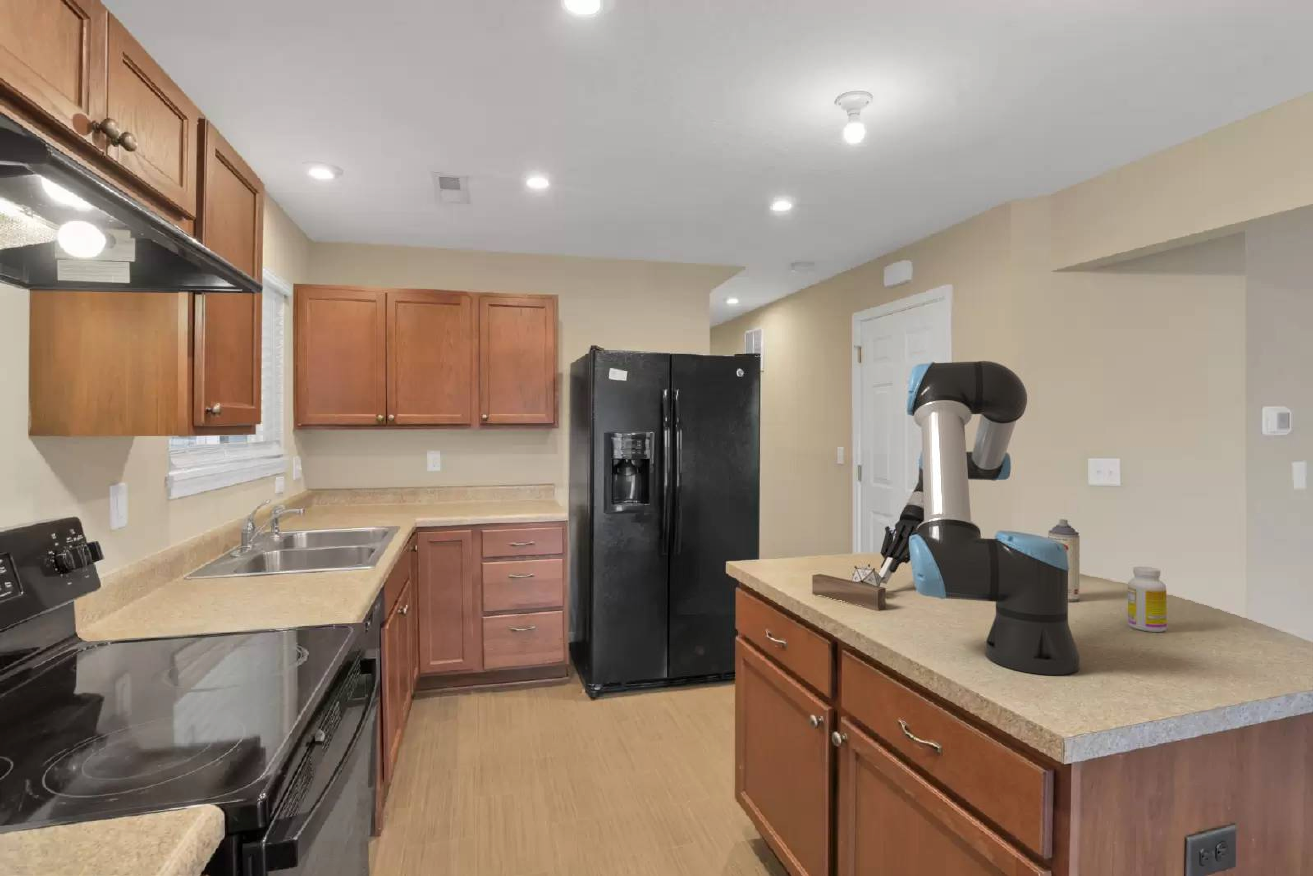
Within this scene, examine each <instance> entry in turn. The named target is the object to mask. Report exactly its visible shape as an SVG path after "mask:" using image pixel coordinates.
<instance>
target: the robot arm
mask: <svg viewBox="0 0 1313 876" xmlns="http://www.w3.org/2000/svg"><path fill="white" fill-rule="evenodd" d="M906 401H907V402H906V413H907V415H908V416H912V417H913V420H914V422H915V423H916V425H917V426H918V427H920V428H921V451H920V455H919V460H918V465H919V466H918V479H917V480H918V481H917V483H916V485H915V487H914V489H913V491H912V493H911V495H910V496H909V498H908V500H907V502H906V504H905V506H904V507H903V509H902V511H901V513H900V515H899V521H897V522H896V523H895V524H894V526H891V527H890V526H889V525H886V526H885V528H884V531H885V535H884V538H883V541H882V545H881V550H880V555H881V556H882V558H883V559H884V560H883V561H882V563H881V565H880V571H879V573H878V574H879V575H880V576H881V577H885V579H882V581H881V583H880V584H885V585H887V584H888V583H889V580H890V579H891V577H892V574H893V573H894V574H895V573H896V572H897V570H898V569H899V566H900V565H901V564H903V563H905V564H908V563H909V562H910V566H911V574H912V579H913V582H914V583H913V584H914V586H915V589H916V591H917V592H918V594H920V595H922V596H925V597H931V598H939V599H941V600H945V599H948V600H949V599H950V600H967V601H978V602H979V601H980V602H995V616H994V619H993V622H992V624H991V627H990V630H989V632H988V635H987V637H986V641H985V645H984V646H985V647H984V648H985V649H984V650H985V652H984V654H985V656H986V658H987V659H988V660H990V661H991V662H993V663H995V664H996V665H999V666H1001V667H1002V666H1003V667H1005V668H1007V669H1012V670H1014V671H1019V672H1023V673H1024V672H1025V673H1030V674H1035V675H1036V674H1038V675H1048V676H1050V675H1051V676H1052V675H1053V676H1055V675H1056V676H1061V675H1069V674H1073V673H1077V672H1078V671H1079V670H1080V653H1079V650H1078V648H1077V645H1076V643H1075V642H1076V641H1075V639H1074V636H1073V634H1072V631H1071V629H1070V628H1071V627H1070V625H1069V602H1068V571H1069V566H1068V555H1067V549H1066V547H1065V546H1064V545H1063V544H1062V543H1060V542H1058V541H1056V540H1053V539H1050V538H1048V537H1045V536H1041V535H1036V534H1032V533H1025V532H1019V531H1012V530H998V531H996V533H995V534H994V538H986V537H985V538H983V537H982V536H981V528H980V527H979V526H978V524H976V523H975V522H973V521H972V518H971V500H970V485H969V480H970V481H973V480H977V481H978V480H979V481H985V480H986V481H997V480H999V481H1005V480H1006V481H1007V480H1008V479H1009V478H1010V476H1011V469H1012V463H1011V456H1010V453H1008V452H1007V450H1008V448H1009V444H1010V442H1011V441H1010V440H1011V438H1012V435H1013V432H1014V428H1015V426H1016V423H1017V421H1018V420H1020V419H1021V418H1022V416H1023V415H1024V413H1025V411H1026V408H1027V404H1028V394H1027V389H1026V387H1025V386H1024V383H1023V381H1022V380H1021V379H1020V377H1019V376H1018V375H1017V374H1016V373H1015V372H1014V371H1012V370H1011V369H1009V368H1008V367H1007V366H1005V365H1003V364H1000V363H999V362H995V361H989V360H980V361H955V362H954V361H953V362H934V361H931V362H929V363H926V362H925V363H918V364H915V366H914V367H912V369H911V372H910V377H909V383H908V392H907V400H906ZM972 415H980V417H979V420H978V421H979V422H978V426H977V430H976V433H975V434H976V435H975V439H974V443H973V448H972V451H967V445H966V444H967V442H966V440H967V439H966V431H965V430H966V429H965V426H966V425H968V423H970V421H971V419H972Z"/></svg>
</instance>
